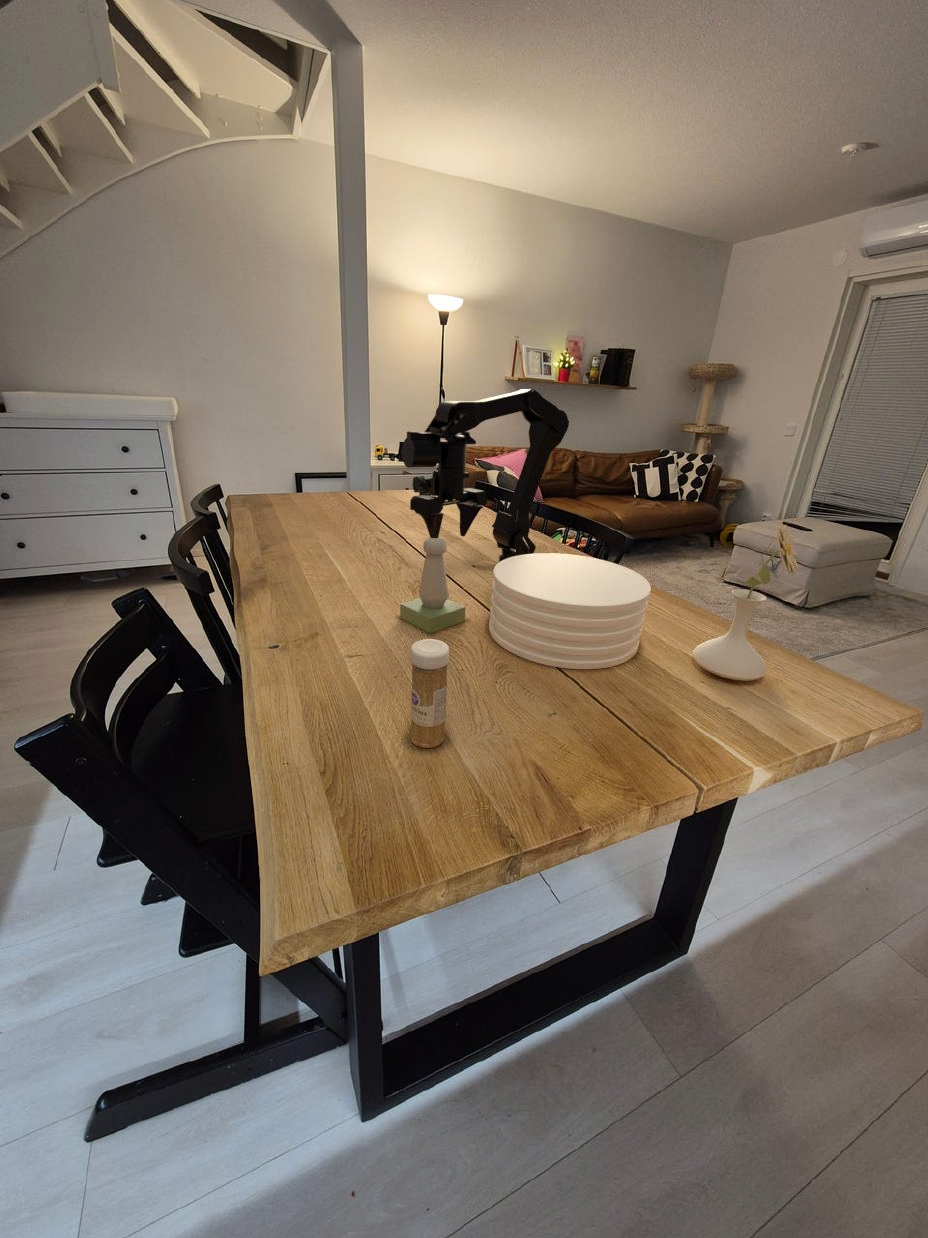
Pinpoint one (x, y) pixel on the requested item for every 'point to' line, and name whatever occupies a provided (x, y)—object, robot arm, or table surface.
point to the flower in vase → (744, 625)
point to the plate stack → (567, 610)
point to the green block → (432, 615)
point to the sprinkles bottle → (428, 692)
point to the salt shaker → (434, 575)
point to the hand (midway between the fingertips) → (448, 539)
